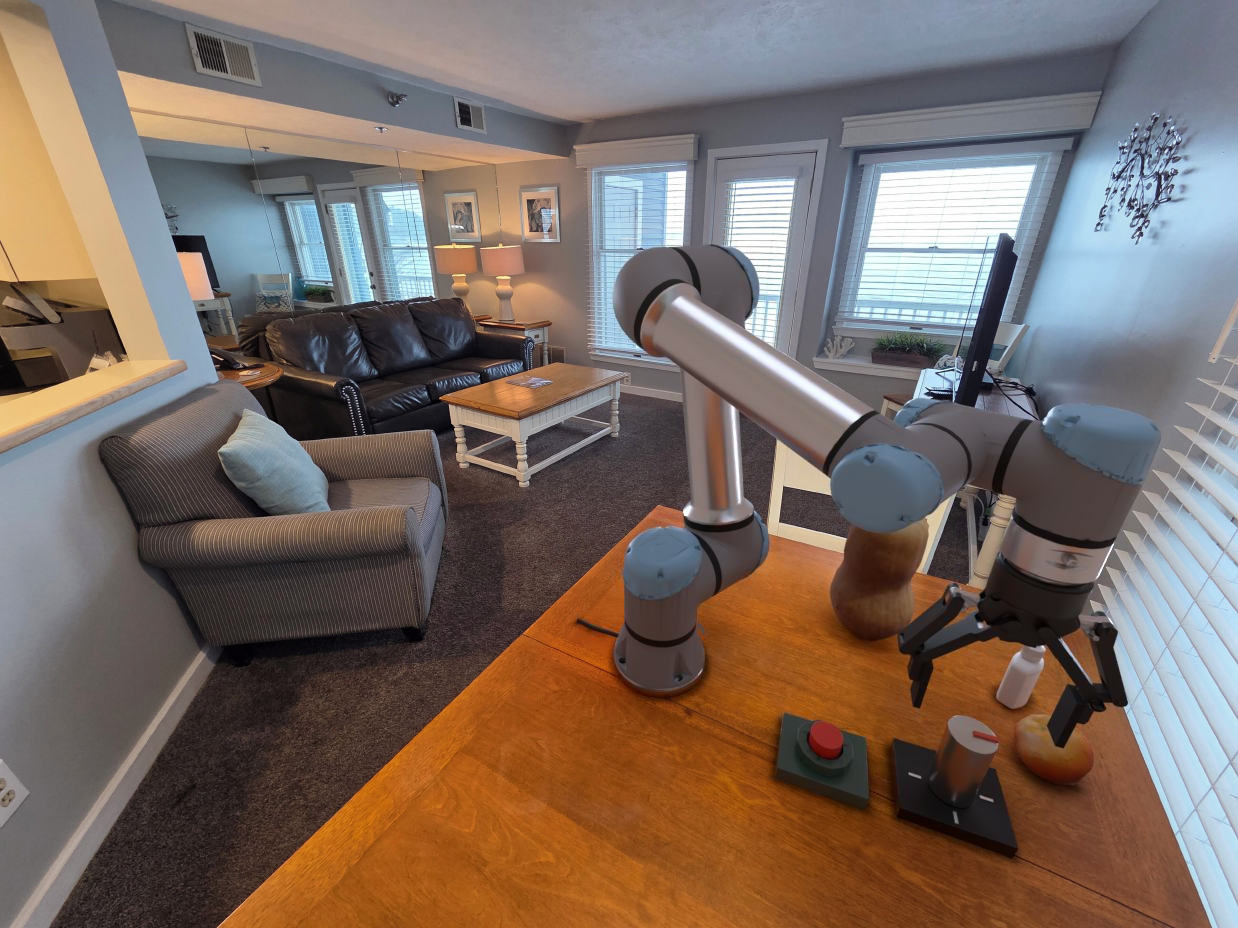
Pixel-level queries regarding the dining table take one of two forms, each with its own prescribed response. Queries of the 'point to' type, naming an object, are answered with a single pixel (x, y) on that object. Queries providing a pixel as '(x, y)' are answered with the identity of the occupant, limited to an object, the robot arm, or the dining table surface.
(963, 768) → the dial
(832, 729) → the button
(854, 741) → the button box
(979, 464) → the robot arm
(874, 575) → the butternut squash
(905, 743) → the dial panel
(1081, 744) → the fruit
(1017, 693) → the eye dropper bottle
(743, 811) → the dining table surface
